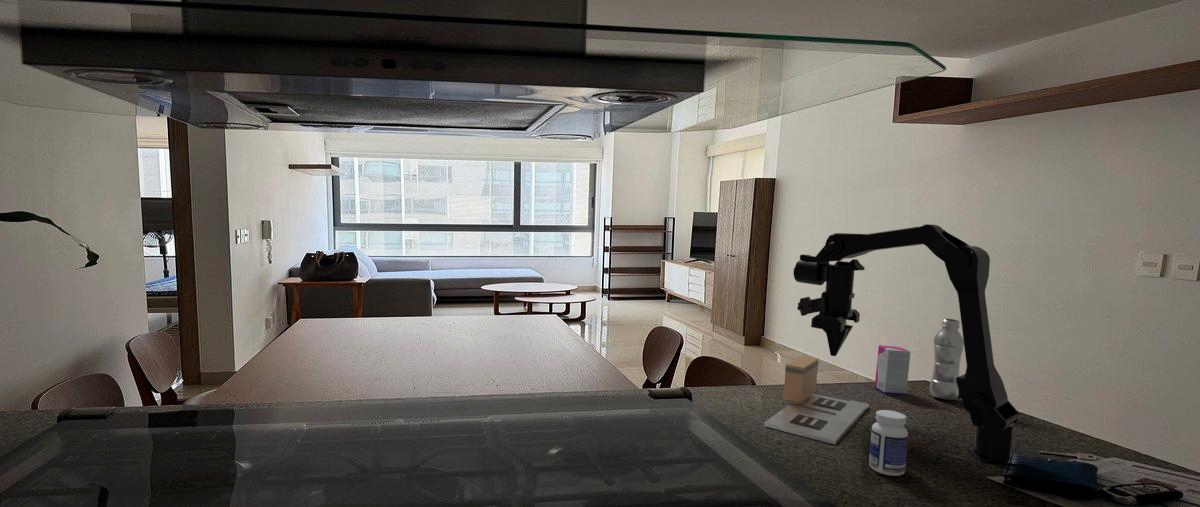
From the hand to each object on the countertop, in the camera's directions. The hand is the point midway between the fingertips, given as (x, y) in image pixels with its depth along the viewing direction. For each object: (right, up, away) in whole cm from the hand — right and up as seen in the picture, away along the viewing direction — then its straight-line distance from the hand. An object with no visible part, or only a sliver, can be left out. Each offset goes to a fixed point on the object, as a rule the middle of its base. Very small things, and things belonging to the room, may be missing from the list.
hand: (833, 355), depth 134 cm
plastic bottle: (+33, -13, +12) cm, 37 cm away
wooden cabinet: (-6, -10, +5) cm, 13 cm away
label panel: (-5, -12, -6) cm, 15 cm away
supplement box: (+21, -12, +16) cm, 29 cm away
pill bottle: (-4, -15, -32) cm, 35 cm away
